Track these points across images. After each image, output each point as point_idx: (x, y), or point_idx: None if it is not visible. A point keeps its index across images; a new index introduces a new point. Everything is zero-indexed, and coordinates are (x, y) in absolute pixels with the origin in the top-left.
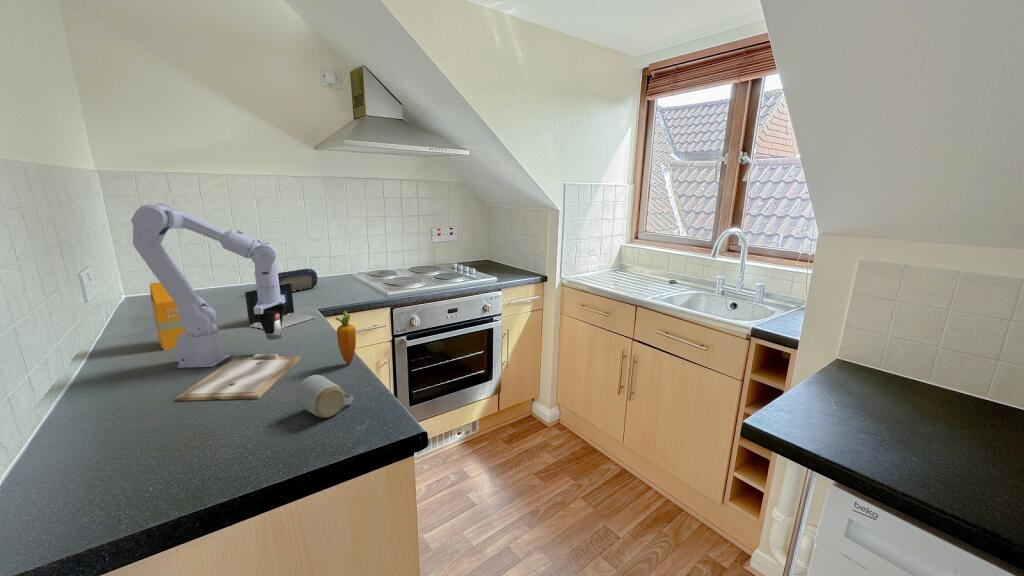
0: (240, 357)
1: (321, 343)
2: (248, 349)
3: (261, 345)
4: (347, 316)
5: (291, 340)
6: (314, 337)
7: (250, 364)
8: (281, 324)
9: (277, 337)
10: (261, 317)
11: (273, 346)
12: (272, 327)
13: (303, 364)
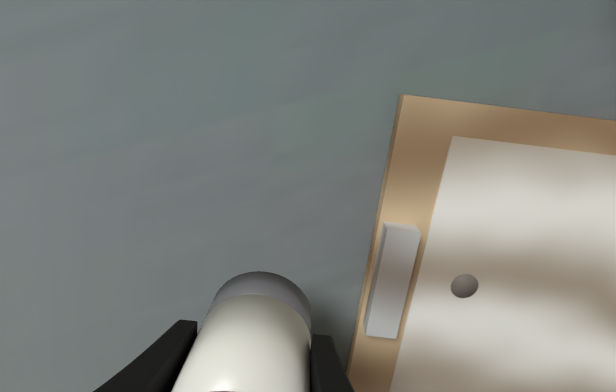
0: None
1: (124, 26)
2: None
3: None
4: None
5: (69, 236)
6: (3, 110)
7: (467, 318)
8: (168, 336)
9: (296, 291)
10: None
11: (168, 298)
12: (346, 378)
13: (505, 49)
